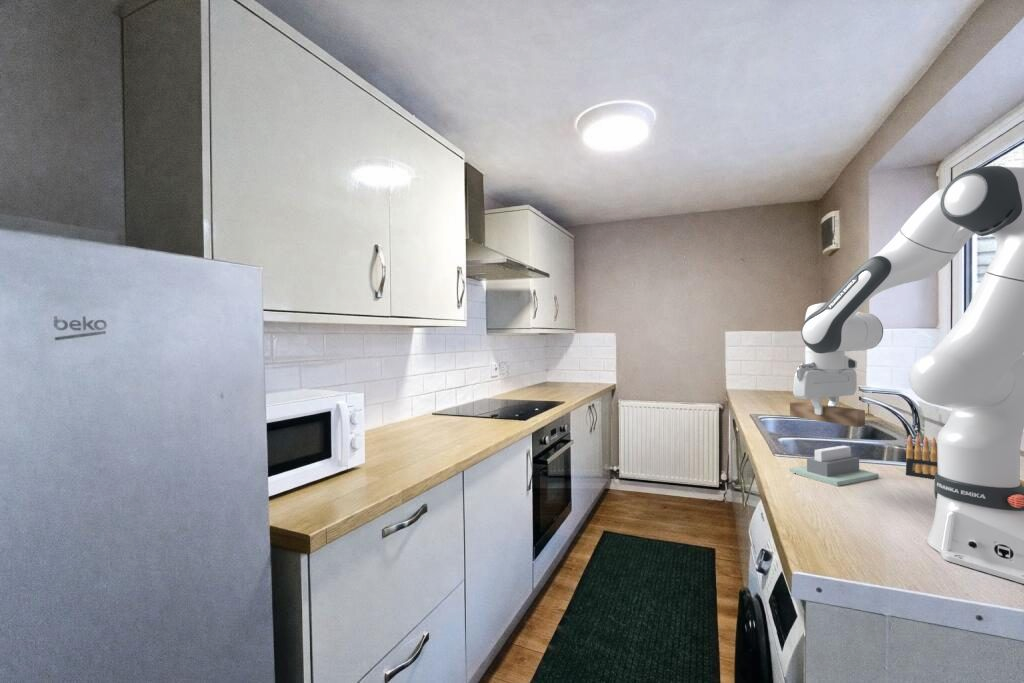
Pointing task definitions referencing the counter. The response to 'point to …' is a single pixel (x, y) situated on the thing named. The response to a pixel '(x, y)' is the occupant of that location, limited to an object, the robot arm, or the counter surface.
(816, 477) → the ridge stand
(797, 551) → the counter surface
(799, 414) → the walnut batten
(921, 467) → the ammunition clip
